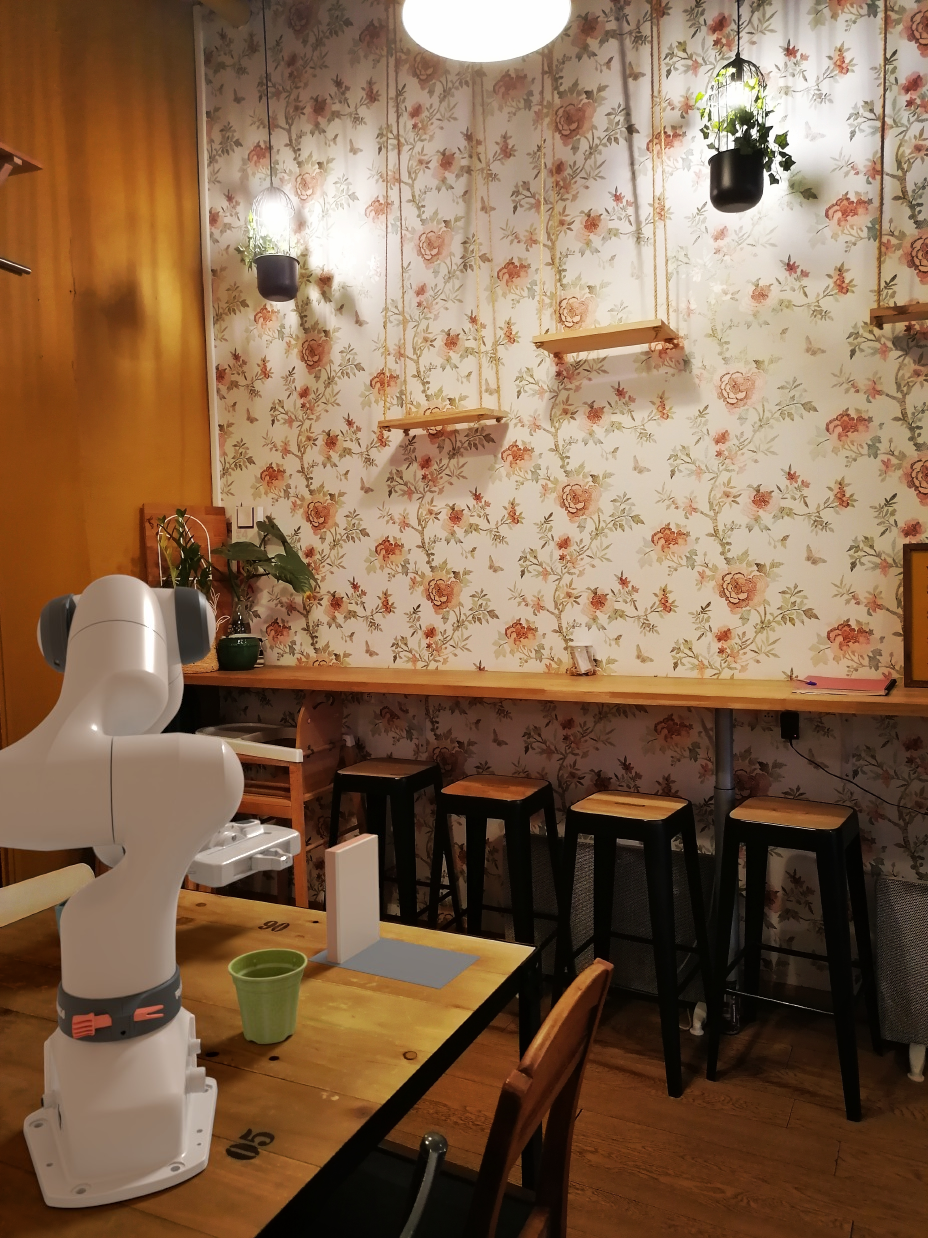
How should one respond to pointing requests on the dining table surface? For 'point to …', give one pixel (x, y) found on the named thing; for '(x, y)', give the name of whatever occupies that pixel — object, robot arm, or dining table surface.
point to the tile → (352, 897)
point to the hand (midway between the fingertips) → (286, 862)
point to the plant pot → (268, 992)
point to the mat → (406, 962)
